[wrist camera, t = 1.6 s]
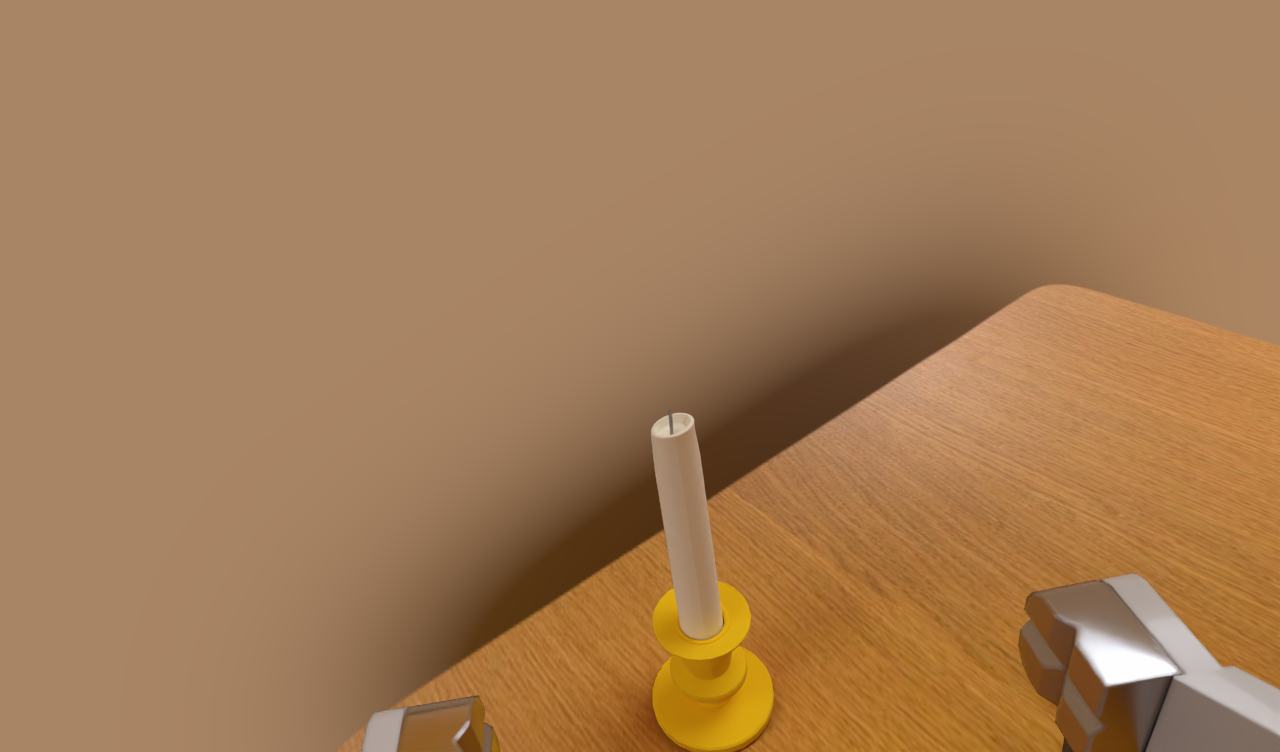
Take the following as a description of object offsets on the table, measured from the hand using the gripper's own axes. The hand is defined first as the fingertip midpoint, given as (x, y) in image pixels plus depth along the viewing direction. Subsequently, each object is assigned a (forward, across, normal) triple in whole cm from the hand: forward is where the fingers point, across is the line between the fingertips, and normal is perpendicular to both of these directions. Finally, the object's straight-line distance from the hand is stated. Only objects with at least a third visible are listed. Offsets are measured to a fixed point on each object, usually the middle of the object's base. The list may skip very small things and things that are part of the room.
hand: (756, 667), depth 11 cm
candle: (+13, 0, +20) cm, 24 cm away
